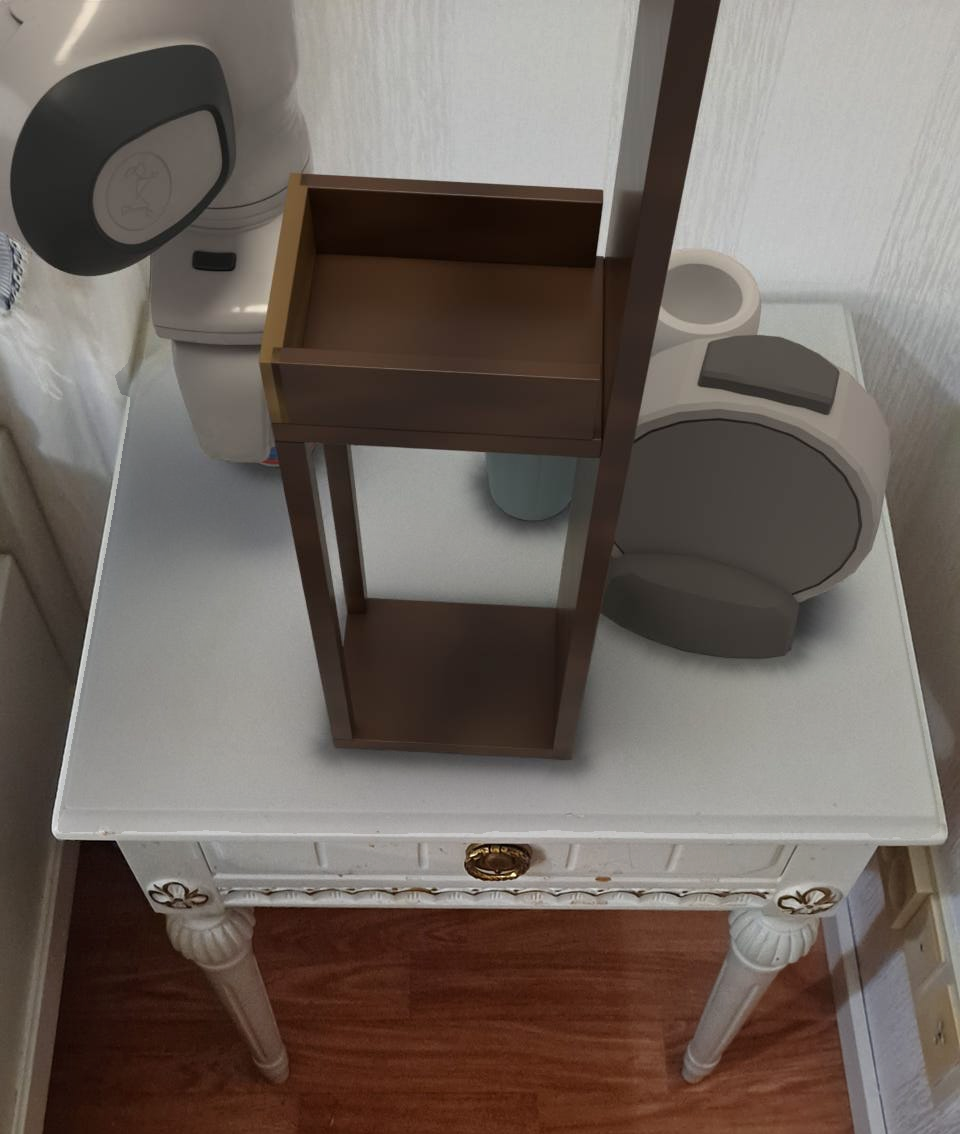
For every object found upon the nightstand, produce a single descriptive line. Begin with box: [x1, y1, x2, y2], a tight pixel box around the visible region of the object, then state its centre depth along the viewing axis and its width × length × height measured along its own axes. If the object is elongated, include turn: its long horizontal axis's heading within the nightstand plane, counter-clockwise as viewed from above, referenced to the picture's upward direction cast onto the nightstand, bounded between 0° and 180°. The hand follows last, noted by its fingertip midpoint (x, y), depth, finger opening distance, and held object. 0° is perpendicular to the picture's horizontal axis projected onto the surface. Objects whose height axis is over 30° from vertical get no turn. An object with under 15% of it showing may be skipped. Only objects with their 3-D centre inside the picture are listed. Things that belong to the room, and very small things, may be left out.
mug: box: [650, 247, 763, 358], centre depth 76 cm, size 12×8×8 cm
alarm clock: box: [600, 334, 892, 659], centre depth 65 cm, size 16×10×18 cm, turn 74°
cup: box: [484, 452, 577, 521], centre depth 72 cm, size 8×8×10 cm
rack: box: [259, 0, 722, 761], centre depth 51 cm, size 14×10×42 cm
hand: (271, 397), depth 74 cm, fingers closed on pill bottle, 5 cm apart
